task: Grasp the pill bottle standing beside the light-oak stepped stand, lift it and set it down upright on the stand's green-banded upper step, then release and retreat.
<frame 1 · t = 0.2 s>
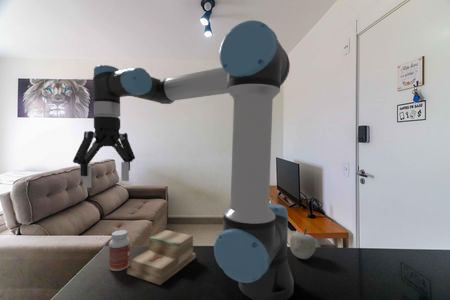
hand: (107, 183, 75), 27 cm above the counter, fingers open, 13 cm apart
stand: (163, 265, 77), on the counter
decorative object: (302, 258, 83), on the counter
pill bottle: (119, 267, 76), on the counter
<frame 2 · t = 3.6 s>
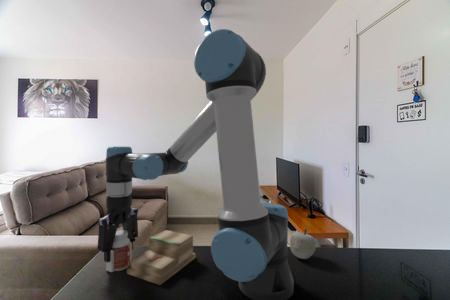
hand: (119, 265, 76), 0 cm above the counter, fingers closed on pill bottle, 6 cm apart
pill bottle: (119, 267, 76), on the counter, touching gripper
everything else where it was.
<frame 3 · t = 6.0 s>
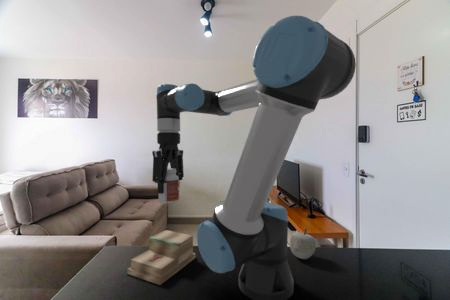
hand: (169, 200, 79), 20 cm above the counter, fingers closed on pill bottle, 6 cm apart
pill bottle: (169, 202, 79), point 20 cm above the counter, touching gripper
everything else where it was.
when the fingers open (9 cm above the counter, at t = 8.7 s): pill bottle stays where it is, resting on stand.
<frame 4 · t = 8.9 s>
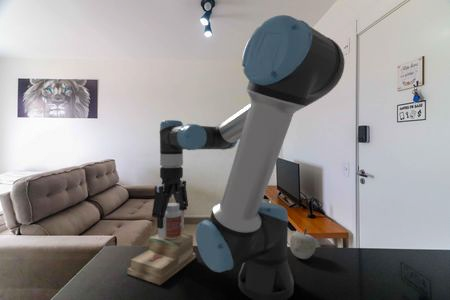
hand: (171, 232, 80), 9 cm above the counter, fingers open, 9 cm apart
pill bottle: (172, 237, 80), point 8 cm above the counter, touching stand
everything else where it was.
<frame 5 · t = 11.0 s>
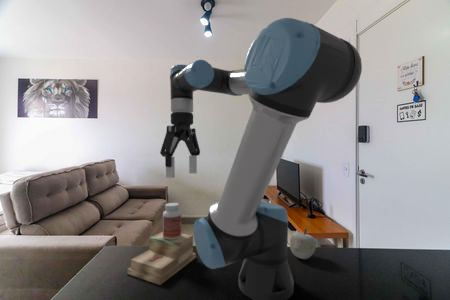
hand: (182, 175, 80), 29 cm above the counter, fingers open, 13 cm apart
nothing on the counter moved.
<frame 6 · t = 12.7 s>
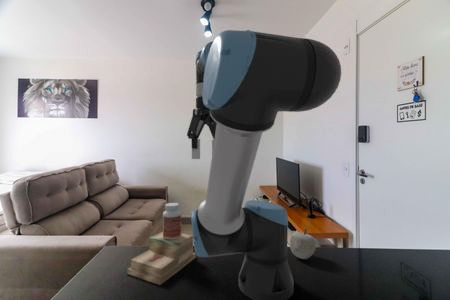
hand: (206, 158, 83), 35 cm above the counter, fingers open, 13 cm apart
nothing on the counter moved.
at the end: pill bottle inside the target area on the stand (0.2 cm from its centre), point 7.8 cm above the stand's base; pill bottle tilted 0°; the gripper is holding nothing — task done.
